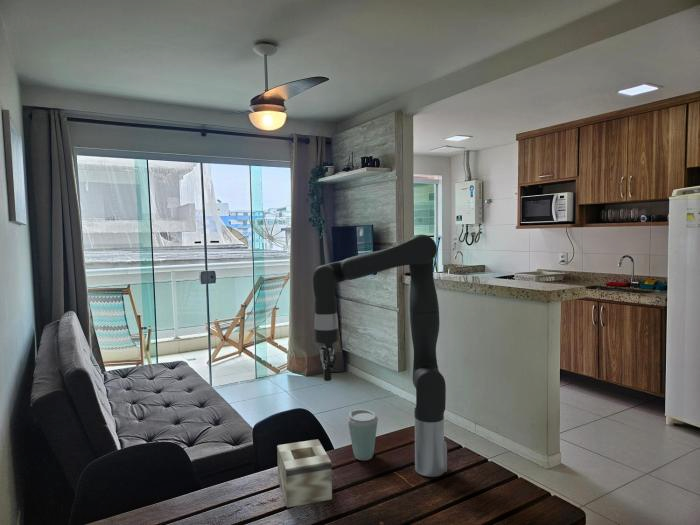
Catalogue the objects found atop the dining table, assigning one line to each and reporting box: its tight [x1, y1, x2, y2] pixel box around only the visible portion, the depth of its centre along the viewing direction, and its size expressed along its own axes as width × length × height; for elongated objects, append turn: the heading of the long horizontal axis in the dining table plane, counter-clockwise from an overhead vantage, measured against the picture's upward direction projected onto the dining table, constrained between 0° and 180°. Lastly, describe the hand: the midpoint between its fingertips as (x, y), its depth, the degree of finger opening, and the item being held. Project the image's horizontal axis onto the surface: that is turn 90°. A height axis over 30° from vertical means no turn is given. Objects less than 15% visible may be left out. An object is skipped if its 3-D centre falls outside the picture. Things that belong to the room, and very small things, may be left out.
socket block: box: [276, 439, 333, 508], centre depth 140 cm, size 13×17×11 cm
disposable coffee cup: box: [346, 408, 379, 461], centre depth 160 cm, size 11×11×15 cm
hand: (327, 380), depth 152 cm, fingers closed
